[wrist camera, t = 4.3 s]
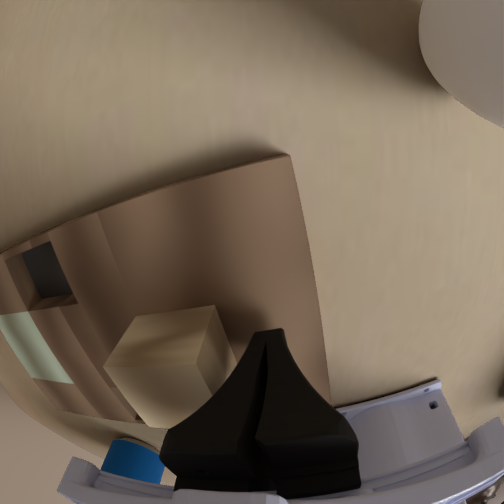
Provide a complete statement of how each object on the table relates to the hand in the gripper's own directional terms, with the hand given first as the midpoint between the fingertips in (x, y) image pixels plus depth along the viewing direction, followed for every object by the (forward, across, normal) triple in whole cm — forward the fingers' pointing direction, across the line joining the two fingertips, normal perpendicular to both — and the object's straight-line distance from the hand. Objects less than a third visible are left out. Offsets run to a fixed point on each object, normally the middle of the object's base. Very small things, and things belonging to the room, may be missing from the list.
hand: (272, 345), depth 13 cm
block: (+1, +4, 0) cm, 5 cm away
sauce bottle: (+3, -12, -12) cm, 18 cm away
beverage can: (+3, +18, +17) cm, 25 cm away
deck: (+3, +10, 0) cm, 11 cm away
